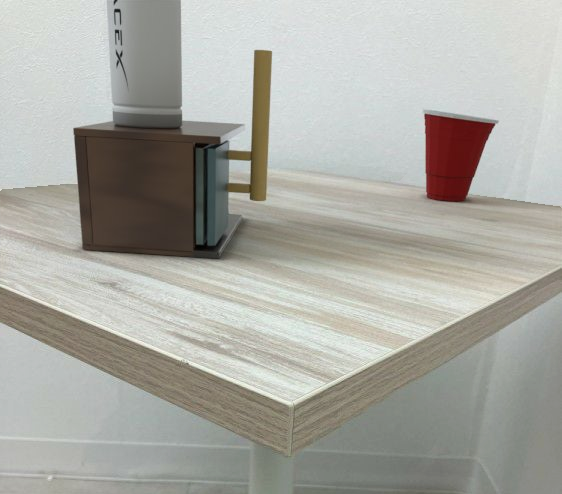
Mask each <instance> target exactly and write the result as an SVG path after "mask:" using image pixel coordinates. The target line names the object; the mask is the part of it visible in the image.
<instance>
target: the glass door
mask: <svg viewBox="0 0 562 494" xmlns="http://www.w3.org/2000/svg"><path fill="white" fill-rule="evenodd" d="M272 64H273V50H268V49H254V50H253V77H252V107H251V110H252V111H251V112H252V113H251V143H250V151H249V150H235V149H230V140H229V139H228V140H227V141H225V142H223V143H221V144H215V145H213V146H211V147H209V148H208V201H207V245H209V246H215V245H216V243H217V242H218V240H219V239H220V238H221V236H222V235H223V233H224V232H225V230H226V229H227V227H228V214H229V200H230V199H229V196H230V195H229V194H230V193H234V194H249V200H250V201H253V202H265V201H266V200H267V192H268V191H267V188H268V167H269V166H268V164H269V163H268V162H269V138H270V137H269V136H270V116H271V115H270V113H271V93H272V92H271V90H272V67H273V65H272ZM230 161H242V162H243V161H245V162H250V173H249V174H250V176H249V177H250V178H249V179H250V180H249V181H250V182H249V183H240V182H239V183H238V182H230Z"/></svg>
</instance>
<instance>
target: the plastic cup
mask: <svg viewBox="0 0 562 494" xmlns="http://www.w3.org/2000/svg"><path fill="white" fill-rule="evenodd" d="M422 114H424V115H423V117H424V118H423V119H424V135H425V159H424V160H425V164H424V165H425V166H424V167H425V170H424V171H425V172H424V173H425V192H426V197H427V198H429V199H432V200H439V201H446V202H463V201H465V200H466V199H467V197H468V196H469V195H468V194H469V191H470V188H471V185H472V182H473V179H474V178H475V176H476V172H477V169H478V168H479V164H480V161H481V158H482V156H483V153H484V149H485V147H486V144H487V142H488V140H489V137H490V136H491V135H490V134H492V131H493V130H494V128H495V127H496V125H497V124H499V121H500V120H499V119H494V118H493V119H492V118H488V117H487V118H486V117H480V116H473V115H469V114H461V113H455V112H447V111H439V110H432V109H424V108H423V109H422Z"/></svg>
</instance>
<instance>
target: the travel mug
mask: <svg viewBox="0 0 562 494" xmlns="http://www.w3.org/2000/svg"><path fill="white" fill-rule="evenodd" d="M106 14H107V17H106V18H107V34H108V35H107V37H108V51H109V71H110V72H109V73H110V88H111V91H110V93H111V103H112V104H113V106H112V109H111V111H112V121H113V123H114V124H115V125H117V126H123V127H133V128H152V129H173V128H180V127H181V126H182V121H183V110H182V107H183V81H182V80H183V72H182V71H183V70H182V69H183V68H182V66H183V65H182V57H183V56H182V0H106Z"/></svg>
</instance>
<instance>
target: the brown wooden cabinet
mask: <svg viewBox="0 0 562 494" xmlns="http://www.w3.org/2000/svg"><path fill="white" fill-rule="evenodd" d="M244 131H246V124H245V123H230V122H212V121H199V120H197V121H196V120H182V126H181V127H180V128H173V129H152V128H133V127H123V126H117V125H115V124H114V123H113V120H111V121H105V122H100V123H93V124H88V125H83V126H77V127H73V128H72V132H73V140H74V153H75V155H74V156H75V166H76V181H77V194H78V206H79V207H78V208H79V219H80V230H81V245H82V246H81V247H82V250H83V251H96V252H97V251H99V252H112V253H113V252H115V253H126V254H127V253H129V254H144V255H159V256H173V257H189V258H190V257H191V258H204V259H216V260H217V259H218V260H219V259H220V258H221V256H222V254H223V253H224V251H225V250H226V248H227V246H228V244H229V243H230V241H231V239H232V238H233V236H234V235H235V233H236V231H237V230H238V228H239V226H240V225H241V223H242V222H243V219H244V217H243V215H244V214H239V213H228V227H227V229H226V230H225V232H224V233H223V235H222V236H221V238H220V239H219V240H218V242H217V243H216V245H215V246H209V245H207V201H208V148H209V147H211V146H213V145H215V144H221V143H223V142H225V141H227V140H228V141H229V140H231V139H232V138H234V137H235V136H237V135H239V134H240V133H242V132H244Z"/></svg>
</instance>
